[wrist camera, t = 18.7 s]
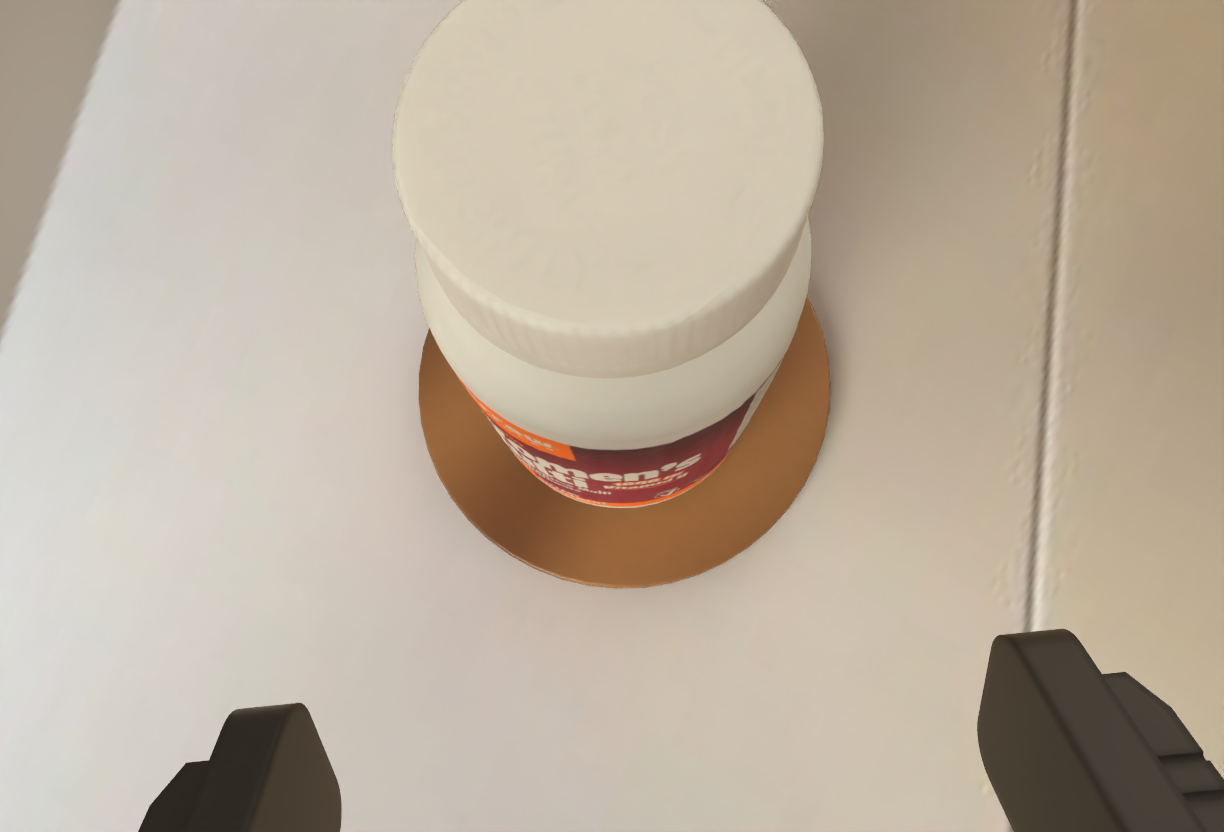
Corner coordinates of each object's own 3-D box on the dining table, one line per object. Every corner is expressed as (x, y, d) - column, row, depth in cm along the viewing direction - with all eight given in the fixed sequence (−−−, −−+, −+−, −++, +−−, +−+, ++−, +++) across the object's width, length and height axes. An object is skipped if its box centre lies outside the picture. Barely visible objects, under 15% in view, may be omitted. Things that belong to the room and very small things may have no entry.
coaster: (353, 483, 22) (345, 479, 21) (530, 145, 23) (527, 133, 23) (731, 660, 20) (733, 661, 20) (885, 287, 22) (891, 278, 22)
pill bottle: (476, 493, 21) (286, 346, 10) (519, 252, 22) (394, -116, 11) (737, 528, 20) (847, 418, 9) (764, 281, 22) (888, -71, 11)
